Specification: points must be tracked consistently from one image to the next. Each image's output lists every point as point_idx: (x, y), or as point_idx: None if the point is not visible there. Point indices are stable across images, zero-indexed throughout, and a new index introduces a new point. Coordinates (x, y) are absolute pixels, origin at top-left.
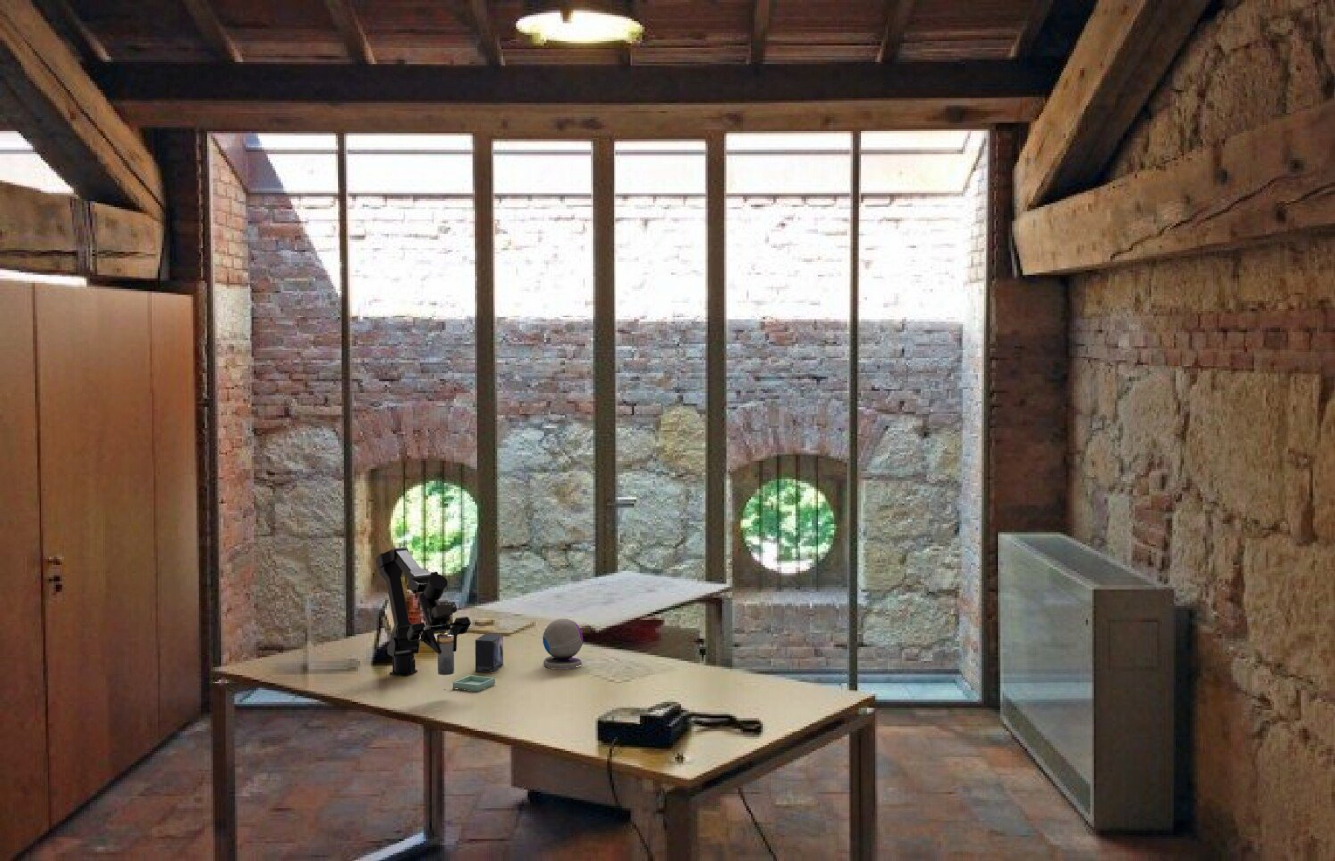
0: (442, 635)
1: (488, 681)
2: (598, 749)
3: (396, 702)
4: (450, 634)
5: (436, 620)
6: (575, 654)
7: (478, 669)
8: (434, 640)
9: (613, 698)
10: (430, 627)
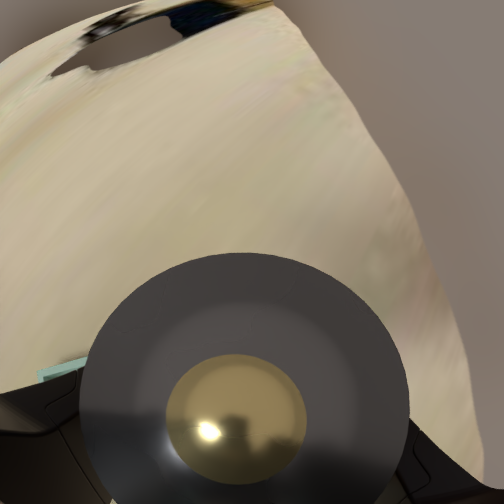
0: (310, 421)
1: (69, 362)
2: (263, 8)
3: (441, 423)
4: (132, 372)
5: None
6: None
7: None
8: (411, 450)
9: (51, 109)
10: None
